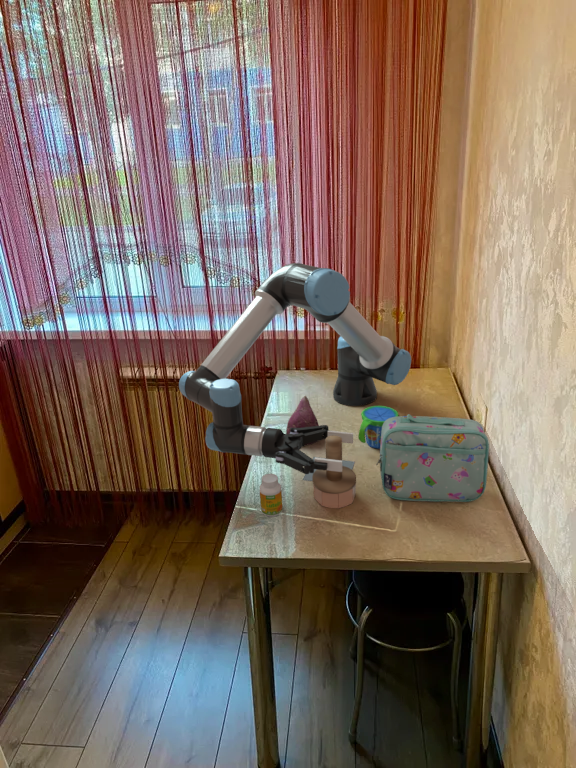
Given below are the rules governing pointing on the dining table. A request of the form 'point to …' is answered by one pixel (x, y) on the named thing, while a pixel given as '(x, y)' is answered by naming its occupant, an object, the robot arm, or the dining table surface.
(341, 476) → the paper towel holder
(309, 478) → the mat
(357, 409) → the dining table surface
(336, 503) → the bowl
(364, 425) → the snack cup
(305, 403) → the vegetable
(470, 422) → the lunch box
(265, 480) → the supplement bottle
